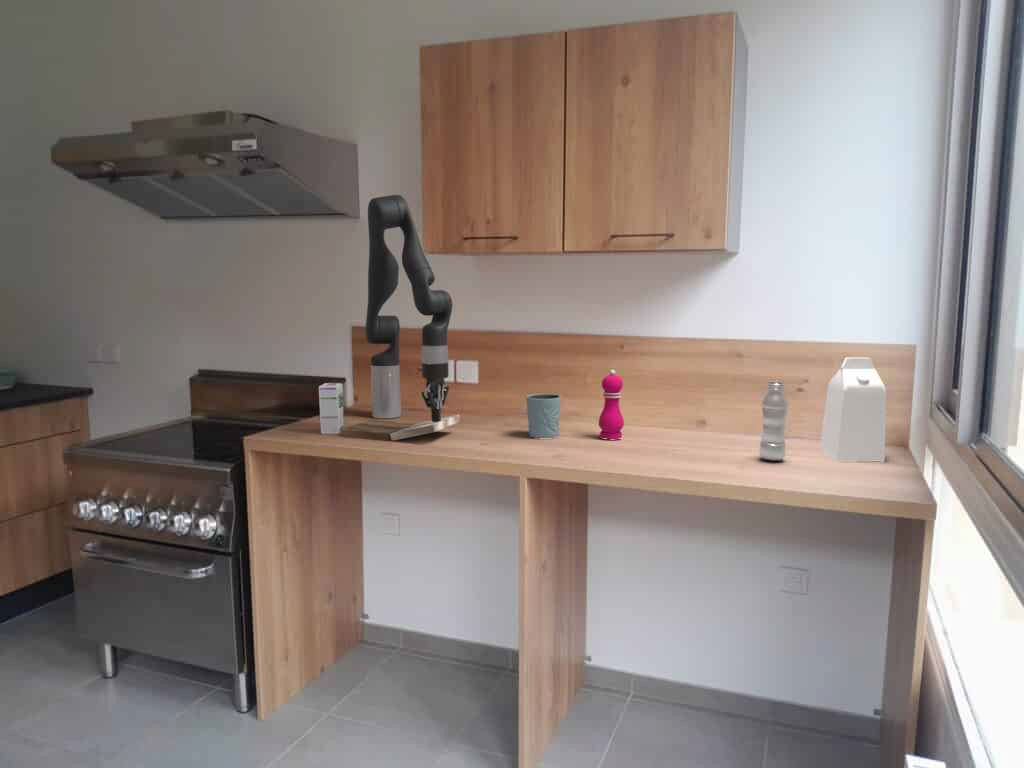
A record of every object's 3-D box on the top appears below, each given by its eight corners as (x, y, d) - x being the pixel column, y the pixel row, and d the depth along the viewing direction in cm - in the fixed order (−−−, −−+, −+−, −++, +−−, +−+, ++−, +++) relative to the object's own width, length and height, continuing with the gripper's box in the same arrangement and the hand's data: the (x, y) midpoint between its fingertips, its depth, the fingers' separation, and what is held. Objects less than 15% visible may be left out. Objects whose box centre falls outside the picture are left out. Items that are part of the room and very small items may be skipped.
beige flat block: (419, 429, 228) (418, 423, 228) (460, 421, 223) (458, 414, 223) (391, 440, 213) (389, 433, 213) (434, 432, 207) (432, 424, 207)
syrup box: (339, 434, 221) (338, 385, 219) (319, 434, 221) (318, 385, 219) (344, 430, 227) (343, 382, 225) (325, 430, 227) (323, 382, 225)
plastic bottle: (754, 460, 192) (758, 382, 190) (765, 455, 197) (769, 380, 194) (778, 464, 188) (783, 385, 185) (789, 460, 193) (794, 382, 190)
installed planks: (371, 425, 234) (371, 419, 234) (417, 429, 229) (417, 422, 228) (340, 436, 219) (340, 429, 218) (389, 440, 213) (388, 433, 213)
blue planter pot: (566, 438, 217) (567, 397, 216) (535, 441, 213) (535, 399, 211) (550, 431, 227) (550, 392, 225) (519, 434, 222) (520, 394, 220)
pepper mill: (604, 441, 213) (606, 371, 210) (594, 436, 220) (595, 368, 217) (627, 440, 216) (629, 370, 213) (616, 435, 222) (618, 367, 219)
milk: (864, 451, 203) (871, 355, 199) (884, 462, 191) (892, 360, 188) (819, 451, 203) (825, 355, 199) (836, 461, 192) (843, 360, 188)
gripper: (433, 358, 221) (434, 416, 223) (412, 363, 209) (413, 424, 211) (457, 359, 218) (457, 418, 220) (436, 363, 206) (437, 426, 208)
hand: (436, 421), depth 216 cm, fingers closed
